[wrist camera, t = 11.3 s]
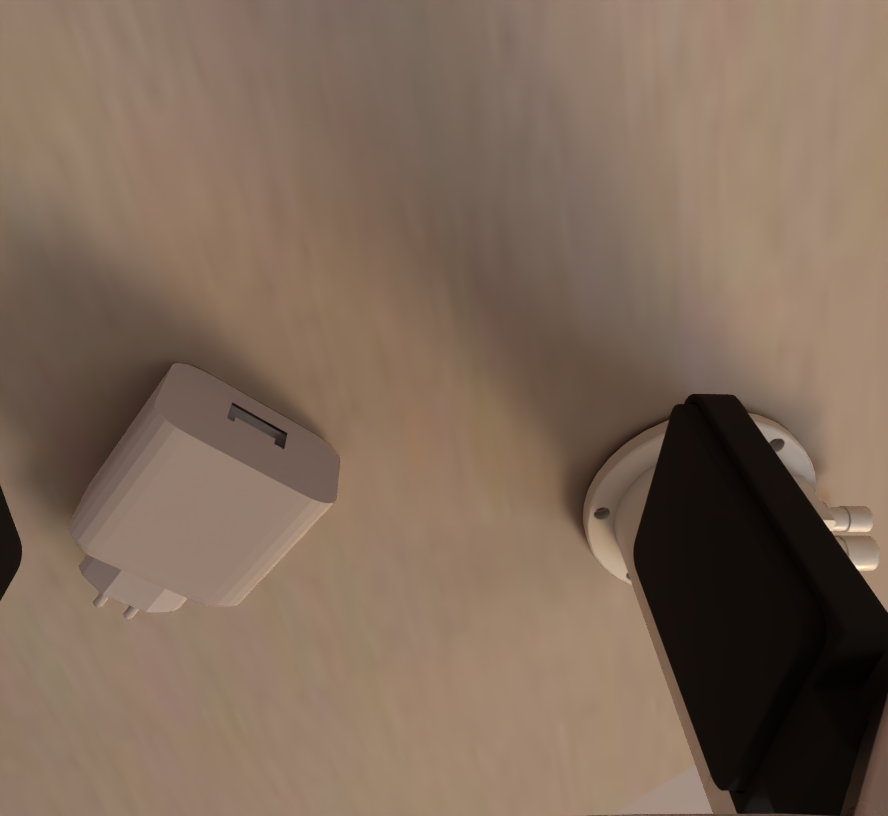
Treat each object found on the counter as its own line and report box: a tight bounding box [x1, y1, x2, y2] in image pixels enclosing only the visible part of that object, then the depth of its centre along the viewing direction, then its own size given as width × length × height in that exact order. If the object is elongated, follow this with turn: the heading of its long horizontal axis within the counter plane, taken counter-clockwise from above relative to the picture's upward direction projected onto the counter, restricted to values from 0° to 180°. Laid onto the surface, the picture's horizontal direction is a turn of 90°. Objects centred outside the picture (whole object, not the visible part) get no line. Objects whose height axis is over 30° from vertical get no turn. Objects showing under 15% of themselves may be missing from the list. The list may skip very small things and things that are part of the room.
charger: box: [68, 363, 340, 619], centre depth 37 cm, size 5×9×15 cm
